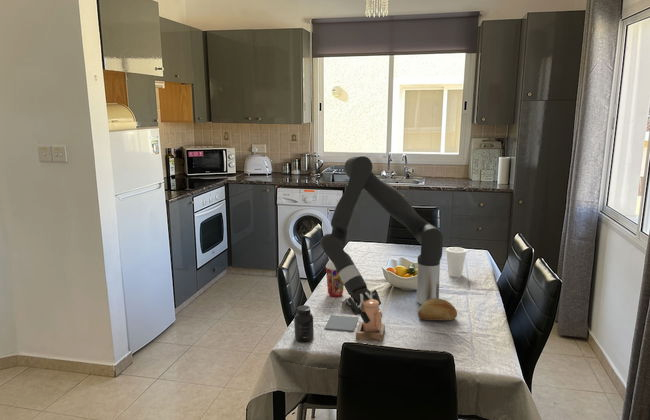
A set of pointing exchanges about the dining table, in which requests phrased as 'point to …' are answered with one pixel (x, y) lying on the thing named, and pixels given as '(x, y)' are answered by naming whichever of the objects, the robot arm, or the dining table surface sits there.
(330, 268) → the smoothie
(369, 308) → the peach column
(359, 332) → the walnut collar
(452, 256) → the foam cup
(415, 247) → the dining table surface
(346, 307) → the egg carton
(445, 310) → the bread roll
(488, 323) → the dining table surface
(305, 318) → the supplement bottle
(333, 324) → the slate mat
